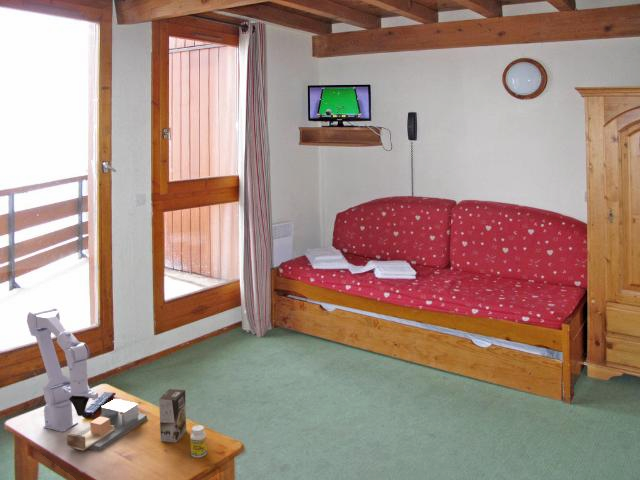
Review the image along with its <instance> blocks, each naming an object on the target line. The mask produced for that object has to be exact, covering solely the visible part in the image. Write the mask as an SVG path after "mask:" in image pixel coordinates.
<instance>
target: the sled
mask: <svg viewBox="0 0 640 480" xmlns="http://www.w3.org/2000/svg"><path fill="white" fill-rule="evenodd" d="M110 428H111V429H110V430H108V431H107V432H105V433H104V434H102V435H98V434H94V433H91V430H90V431H89V432H87V433H86V434H84V435H82V436H80V435H77V433H76V434H75V433H71V432H68V433H66V446H67V448H72V449H75V450H80V451H83V452H84V451H85V450H86V449H89V448H88V447H90V446H91V445H93V444H94V443H96V442H97V441H99V440H100V439H102V438H103V437H105V436H106V435H108V434H110V433H111V432H113V431H114V426H113V425H110Z"/></svg>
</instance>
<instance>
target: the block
mask: <svg viewBox="0 0 640 480" xmlns="http://www.w3.org/2000/svg"><path fill="white" fill-rule="evenodd" d="M89 425H90V426H89V427H91V433H94V434H98V435H102V434H104V433H105V432H107V431H108V430H110V429H111V428H110V419H109V418H105V417H102V415H101V416H99V417H96V418H95V419H93V420H91V421H90V422H89Z"/></svg>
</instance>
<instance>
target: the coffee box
mask: <svg viewBox="0 0 640 480" xmlns="http://www.w3.org/2000/svg"><path fill="white" fill-rule="evenodd" d="M158 404H159V428H160V429H159V431H160V433H159V435H160V437H159V438H160V442H167V443H178V441H180V439H181V438H182V437H183V436H184V435H185V434H186V432H187V408H186V404H187V403H186V390H185V389H174V388H172V389H171V388H169V389H167V391H165V393H164V394H162V395H161V397H160V398H159V403H158Z"/></svg>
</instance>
